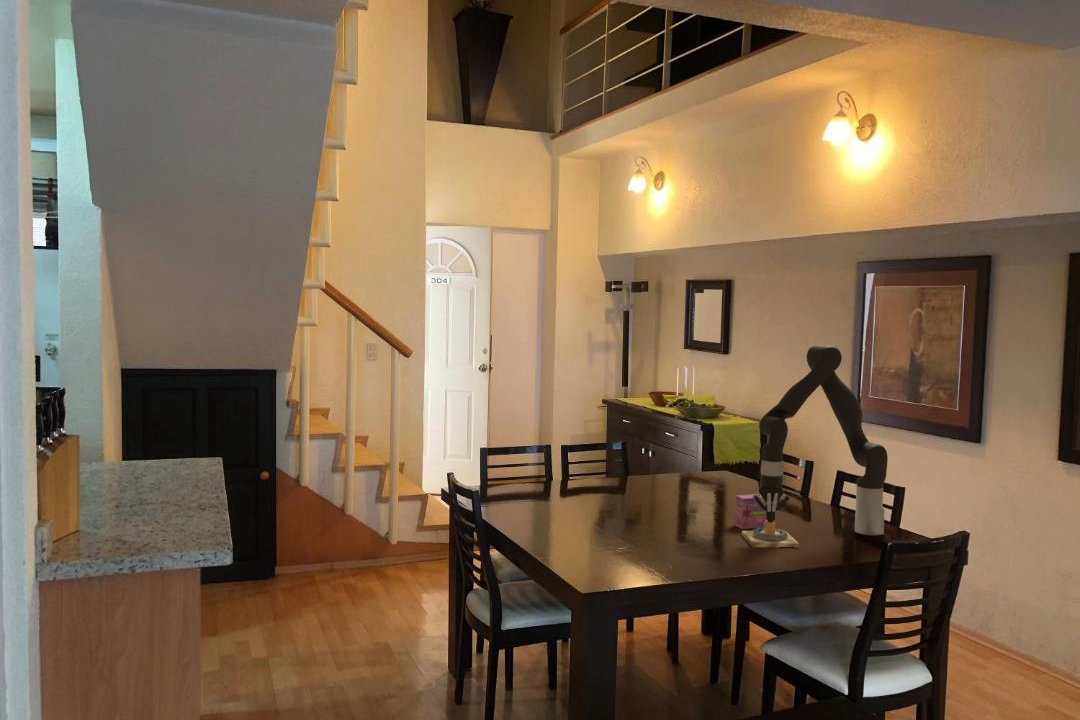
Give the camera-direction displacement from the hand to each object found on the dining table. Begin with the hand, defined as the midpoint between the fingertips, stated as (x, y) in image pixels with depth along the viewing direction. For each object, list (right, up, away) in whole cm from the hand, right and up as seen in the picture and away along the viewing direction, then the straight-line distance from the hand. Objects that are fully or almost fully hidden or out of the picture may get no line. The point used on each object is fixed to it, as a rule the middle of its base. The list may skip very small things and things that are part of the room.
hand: (770, 521), depth 304 cm
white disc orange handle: (0, -6, 0) cm, 6 cm away
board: (0, -7, 0) cm, 7 cm away
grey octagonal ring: (0, -6, 0) cm, 5 cm away
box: (-2, -6, +20) cm, 21 cm away
